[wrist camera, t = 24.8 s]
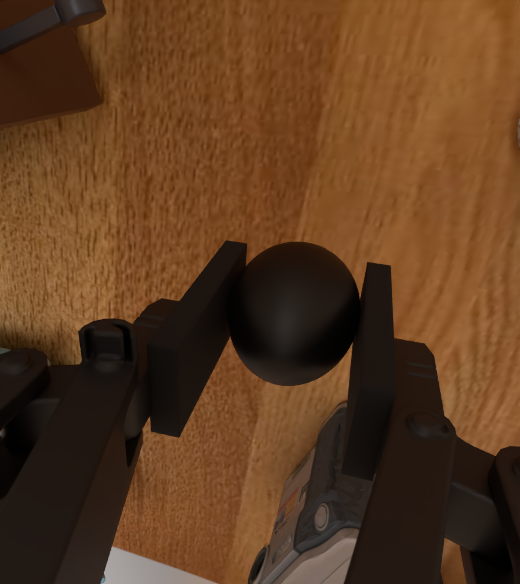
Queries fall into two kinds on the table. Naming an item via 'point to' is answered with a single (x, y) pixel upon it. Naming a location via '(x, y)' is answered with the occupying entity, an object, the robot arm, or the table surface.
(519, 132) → the wristwatch
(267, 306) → the egg
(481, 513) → the robot arm
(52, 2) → the drawer
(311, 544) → the camera
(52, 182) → the table surface
